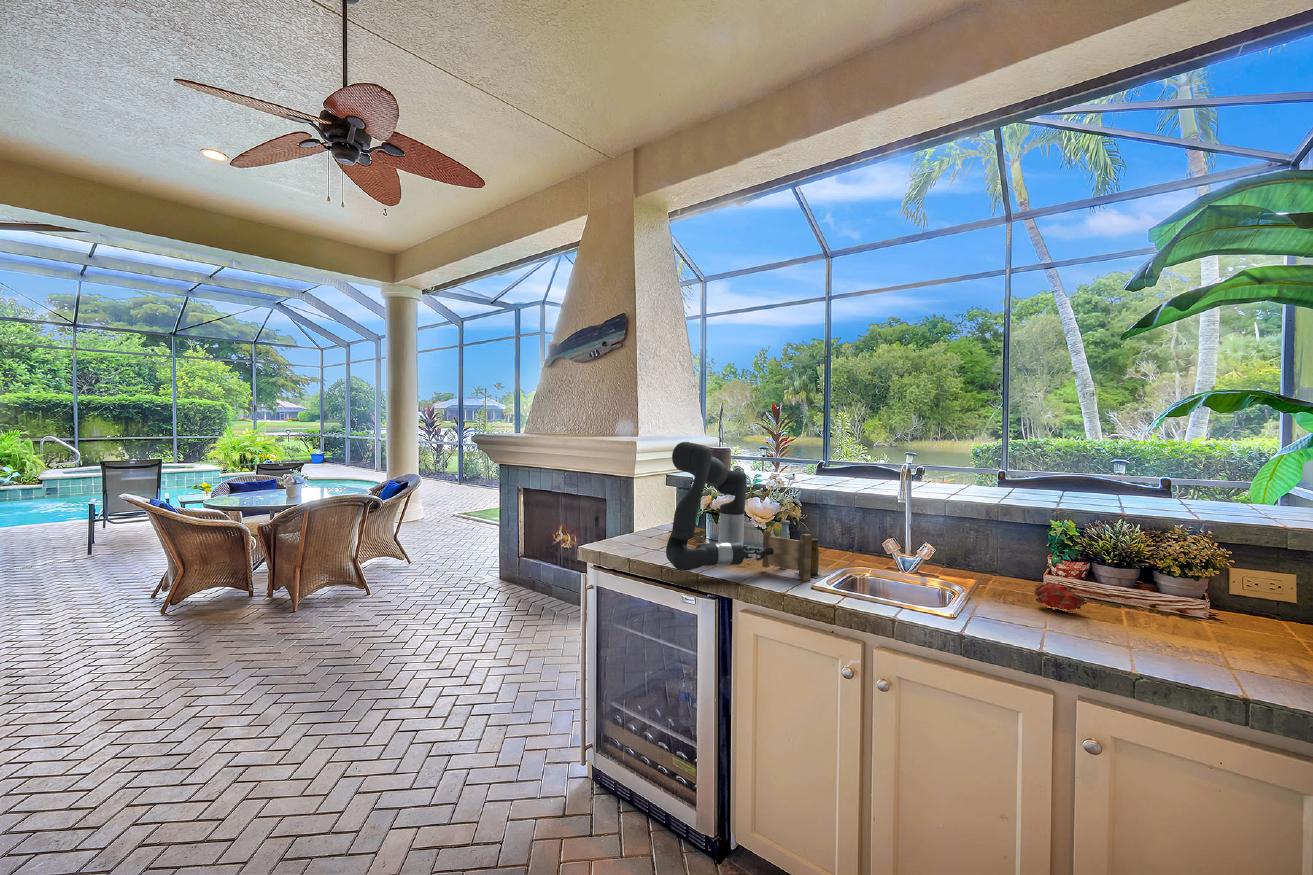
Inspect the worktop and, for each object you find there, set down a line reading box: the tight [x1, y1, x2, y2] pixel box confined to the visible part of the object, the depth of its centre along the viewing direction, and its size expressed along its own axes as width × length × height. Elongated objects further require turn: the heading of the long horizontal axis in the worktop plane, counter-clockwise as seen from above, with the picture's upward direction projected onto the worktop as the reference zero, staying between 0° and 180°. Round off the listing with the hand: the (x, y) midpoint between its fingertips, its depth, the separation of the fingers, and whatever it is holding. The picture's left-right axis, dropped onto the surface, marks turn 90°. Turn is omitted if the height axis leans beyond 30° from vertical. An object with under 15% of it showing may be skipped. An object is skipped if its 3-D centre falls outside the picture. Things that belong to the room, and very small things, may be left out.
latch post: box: [779, 519, 791, 570], centre depth 186 cm, size 3×3×17 cm
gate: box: [761, 529, 801, 577], centre depth 177 cm, size 14×2×13 cm, turn 50°
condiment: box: [794, 537, 828, 579], centre depth 179 cm, size 7×8×12 cm
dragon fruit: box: [1033, 581, 1088, 611], centre depth 148 cm, size 8×8×12 cm
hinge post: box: [799, 533, 813, 583], centre depth 171 cm, size 2×2×15 cm
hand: (772, 550), depth 176 cm, fingers closed
